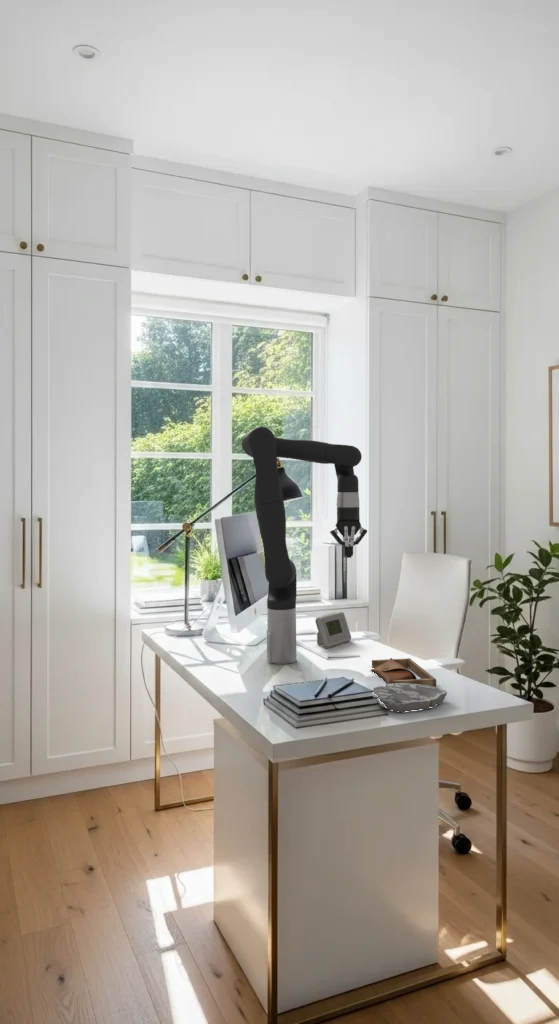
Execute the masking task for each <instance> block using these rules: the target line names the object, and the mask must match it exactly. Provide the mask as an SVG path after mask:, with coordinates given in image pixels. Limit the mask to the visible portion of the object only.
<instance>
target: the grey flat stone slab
mask: <svg viewBox="0 0 559 1024" xmlns="http://www.w3.org/2000/svg"><path fill="white" fill-rule="evenodd" d="M373 692H374V693H375V694H376V695H377V696H378V697H379V699H380V701H381V702H383V703H384V704H385V706H386V707H387V708H389V709H390V710H393V711H399V712H405V711H411V710H419V709H426V710H428V709H427V708H429V707H434V706H435V705H436V704H438V705H440V704H441V703H442V702H444V701H445V698H446V696H447V694H448V691H447V690H446V689H443V688H440V687H437V686H436V687H434V686H430V685H422V684H410V683H394V684H387V683H386V684H385V686H376V687H374V688H373V690H372V693H373ZM374 693H373V694H374ZM375 694H374V695H375ZM440 702H441V703H440ZM439 703H440V704H439ZM435 707H436V706H435ZM435 707H434V708H435ZM389 709H388V710H389ZM390 710H389V711H390Z"/></svg>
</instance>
